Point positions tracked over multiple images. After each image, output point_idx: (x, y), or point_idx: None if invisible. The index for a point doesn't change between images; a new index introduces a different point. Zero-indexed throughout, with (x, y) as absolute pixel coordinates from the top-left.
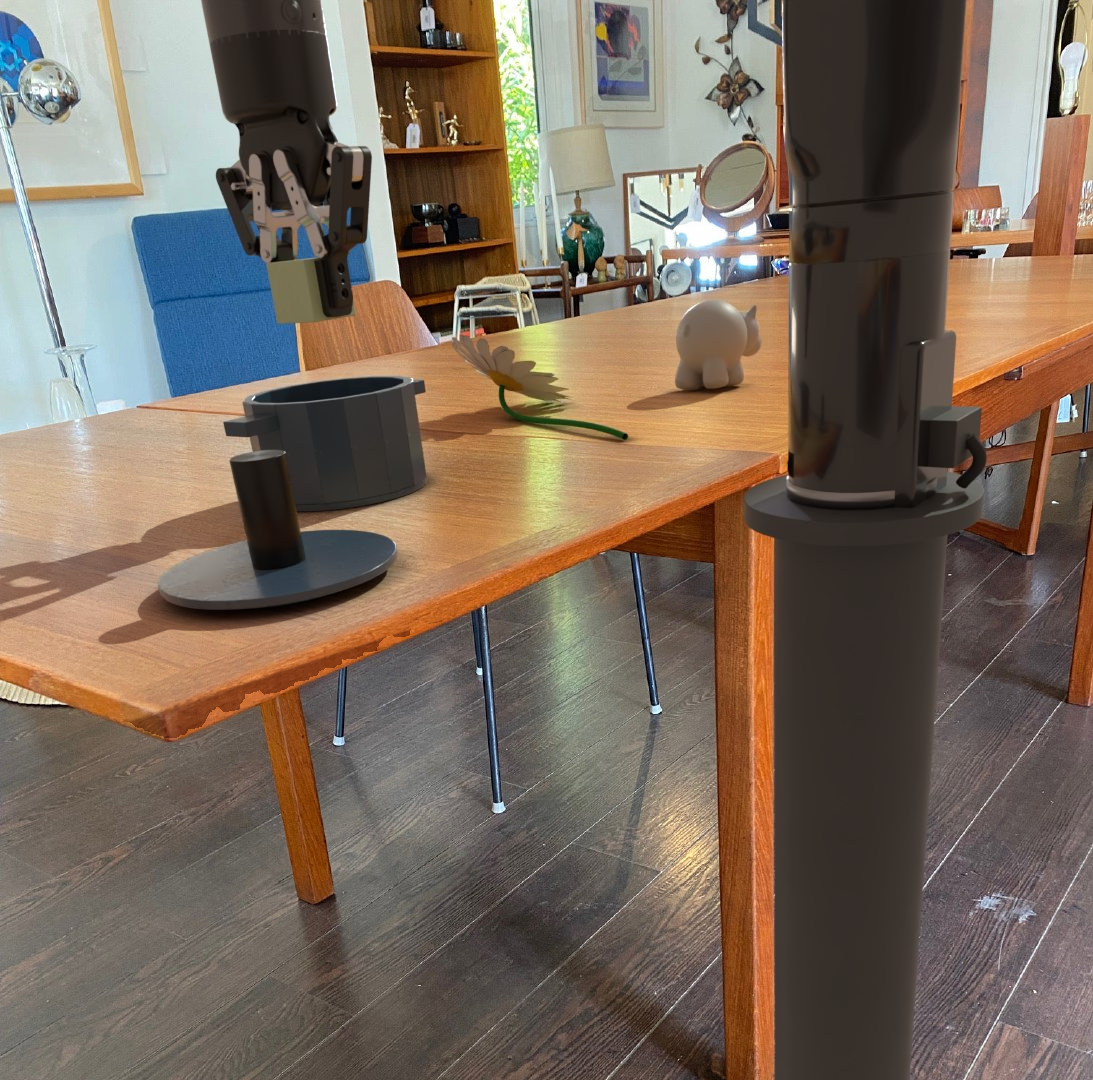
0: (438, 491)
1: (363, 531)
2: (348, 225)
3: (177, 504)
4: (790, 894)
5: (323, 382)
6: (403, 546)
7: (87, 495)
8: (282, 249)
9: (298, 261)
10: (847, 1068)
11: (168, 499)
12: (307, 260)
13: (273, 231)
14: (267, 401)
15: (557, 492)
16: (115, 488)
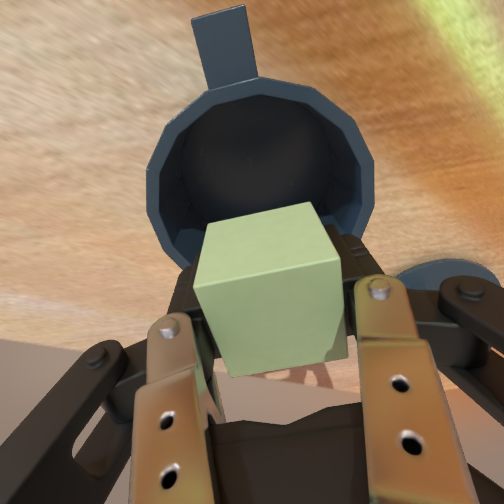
0: (356, 119)
1: (438, 264)
2: (487, 345)
3: (154, 276)
4: None
5: (162, 167)
6: (453, 240)
7: (37, 304)
8: (205, 363)
9: (333, 360)
10: None
11: (124, 273)
12: (347, 349)
13: (224, 418)
14: (181, 247)
15: (501, 47)
16: (23, 283)
